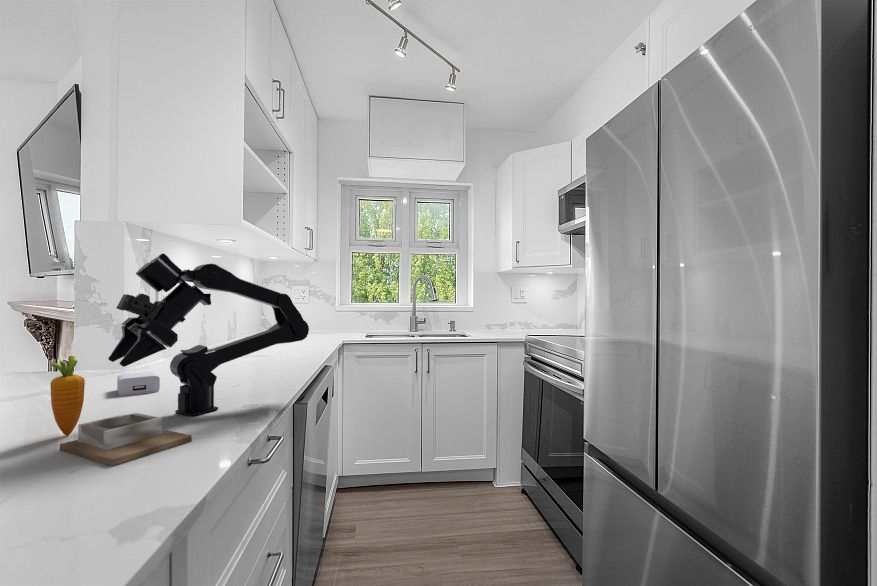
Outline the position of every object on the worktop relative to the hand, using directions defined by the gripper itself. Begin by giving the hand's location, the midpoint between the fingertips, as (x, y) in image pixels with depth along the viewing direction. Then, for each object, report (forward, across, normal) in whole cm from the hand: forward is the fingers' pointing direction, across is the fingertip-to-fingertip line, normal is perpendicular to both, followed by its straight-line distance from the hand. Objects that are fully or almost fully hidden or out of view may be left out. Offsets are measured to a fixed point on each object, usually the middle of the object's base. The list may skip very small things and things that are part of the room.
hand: (115, 362), depth 88 cm
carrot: (+15, 0, +4) cm, 15 cm away
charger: (+1, -38, +19) cm, 42 cm away
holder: (+10, +15, +8) cm, 20 cm away
